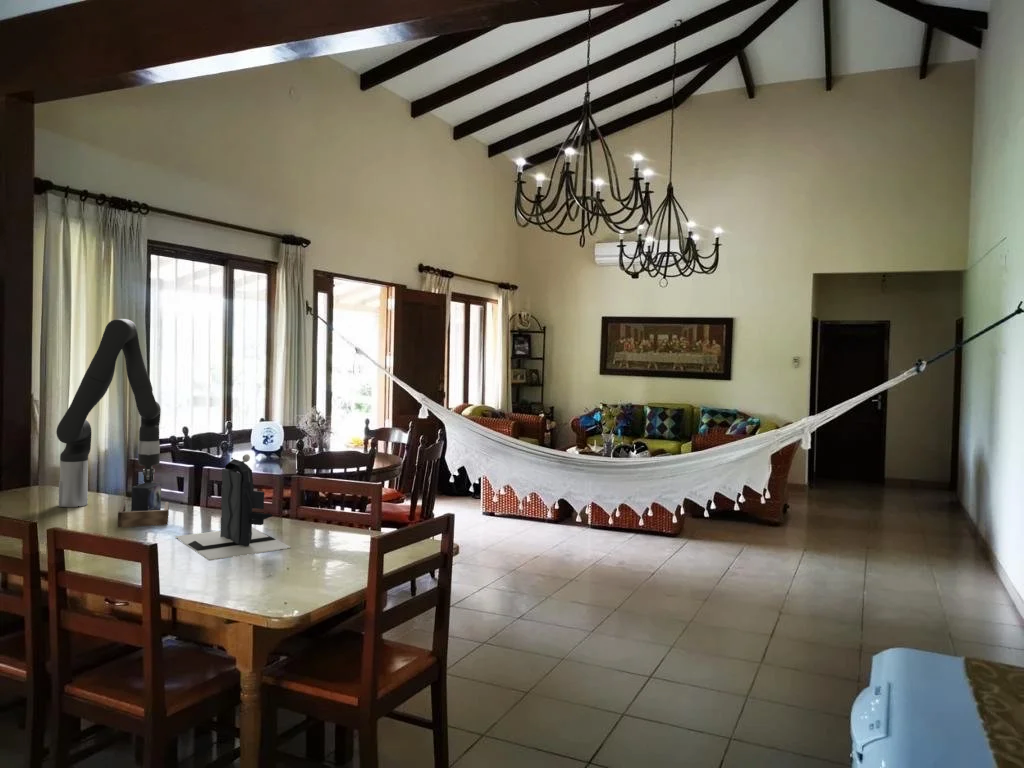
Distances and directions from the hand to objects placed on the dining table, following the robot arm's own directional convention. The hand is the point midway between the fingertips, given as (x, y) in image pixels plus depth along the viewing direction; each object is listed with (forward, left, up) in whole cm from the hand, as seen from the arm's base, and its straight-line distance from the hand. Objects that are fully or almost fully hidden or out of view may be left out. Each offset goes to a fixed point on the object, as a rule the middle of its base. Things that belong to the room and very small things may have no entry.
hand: (148, 496), depth 293 cm
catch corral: (0, -27, -4) cm, 27 cm away
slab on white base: (+27, -66, -4) cm, 71 cm away
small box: (0, -13, -4) cm, 13 cm away
